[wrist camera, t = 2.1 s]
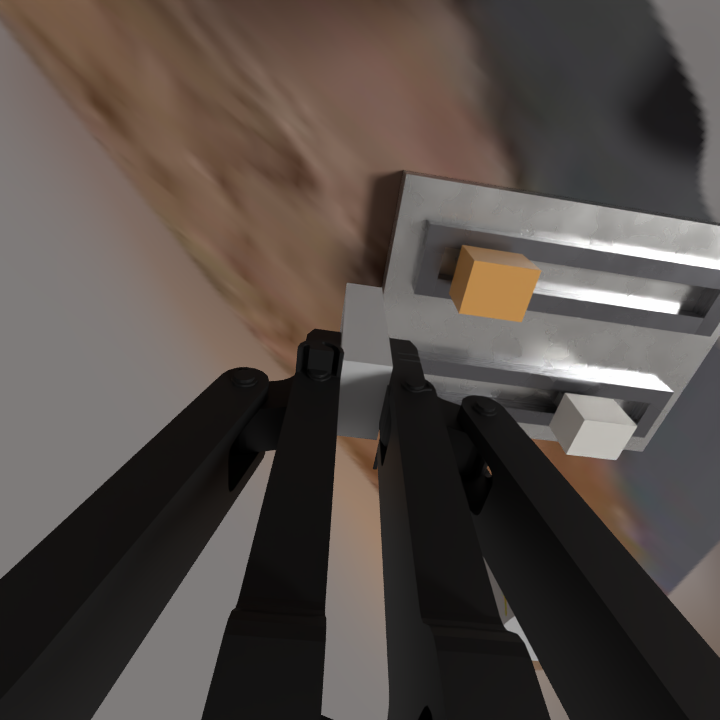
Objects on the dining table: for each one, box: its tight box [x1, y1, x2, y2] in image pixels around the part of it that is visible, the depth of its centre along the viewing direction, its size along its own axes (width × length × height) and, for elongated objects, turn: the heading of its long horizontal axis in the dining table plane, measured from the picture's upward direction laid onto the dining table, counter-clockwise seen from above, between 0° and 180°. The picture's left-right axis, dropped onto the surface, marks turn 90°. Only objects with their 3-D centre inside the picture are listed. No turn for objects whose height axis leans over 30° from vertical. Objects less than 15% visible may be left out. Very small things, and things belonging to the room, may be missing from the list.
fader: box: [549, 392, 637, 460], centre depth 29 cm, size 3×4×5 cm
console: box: [381, 170, 720, 451], centre depth 30 cm, size 18×24×3 cm
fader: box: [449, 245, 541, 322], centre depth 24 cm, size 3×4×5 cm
